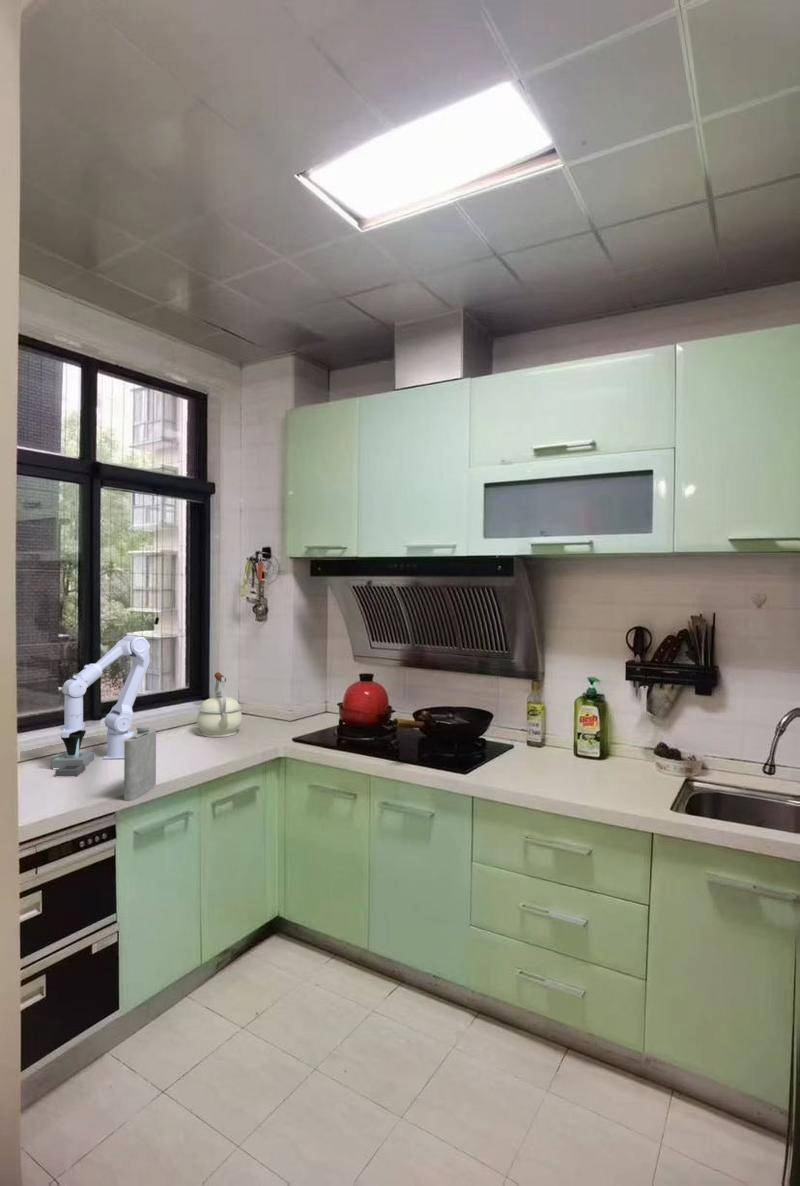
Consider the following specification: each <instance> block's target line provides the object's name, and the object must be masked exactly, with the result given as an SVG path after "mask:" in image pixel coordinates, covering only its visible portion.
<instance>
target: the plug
mask: <svg viewBox="0 0 800 1186" xmlns="http://www.w3.org/2000/svg"><path fill="white" fill-rule="evenodd" d="M79 752H80V750H79V739H78V742H77V747H76V753H75V755H68V753H67V750H66V758H79Z"/></svg>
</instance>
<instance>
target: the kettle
mask: <svg viewBox="0 0 800 1186" xmlns="http://www.w3.org/2000/svg"><path fill="white" fill-rule="evenodd" d="M214 678H215V684H214V685H215V686H214V697H213V696H212V697H210V698H208V699H205V700H204V701H203V702H202V703H201V705H200V706H198V709H197V710H198V711H199V712H198V714H197V718H196V724H197V728H199V730H200V731H201V734H202V735H203V736H204V737H208V738H226V736H227V737H231V735H232V736H235V735H236V734H237V733H238V730H239V728H240V727H241V726H242V724H243V715H242V714H243V713H242V711H241V710H242V706H241V705H240V703H239V702H238V700H237V699H235V698H233V697H230V696H227V695H226V686H225V685H226V682H227V678H226V677H225V676H224V675H222V673H220V672H215V673H214ZM219 684H221V685H219ZM219 686H220V687H221V688H220V689H221V690H219Z"/></svg>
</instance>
